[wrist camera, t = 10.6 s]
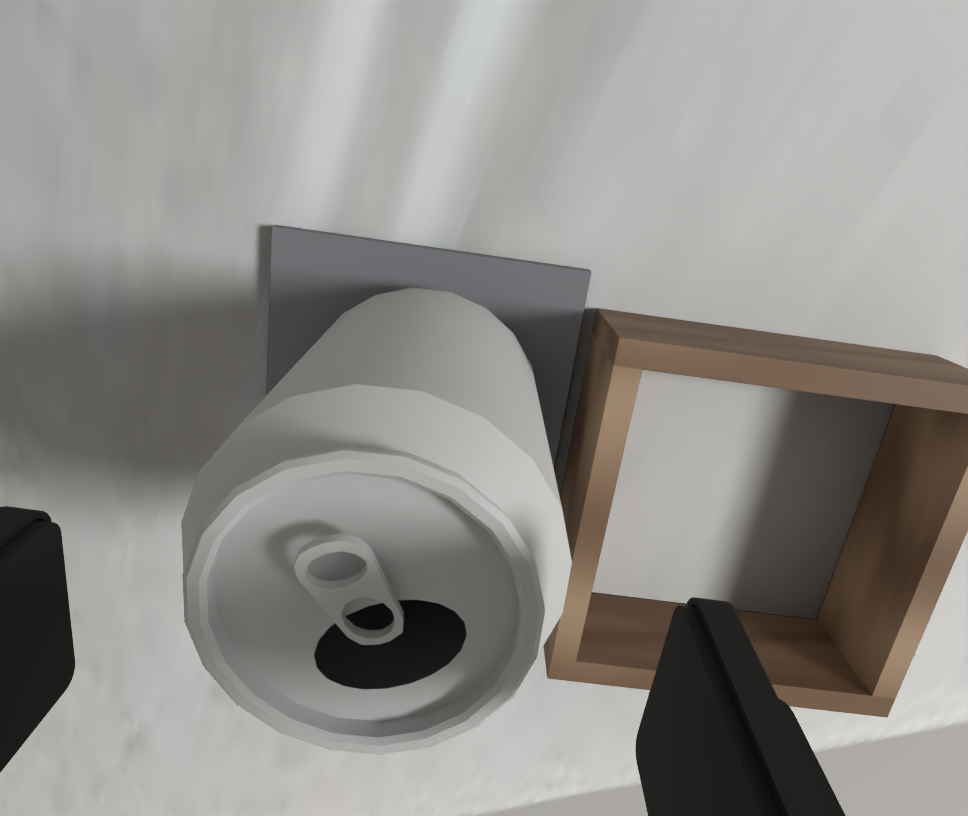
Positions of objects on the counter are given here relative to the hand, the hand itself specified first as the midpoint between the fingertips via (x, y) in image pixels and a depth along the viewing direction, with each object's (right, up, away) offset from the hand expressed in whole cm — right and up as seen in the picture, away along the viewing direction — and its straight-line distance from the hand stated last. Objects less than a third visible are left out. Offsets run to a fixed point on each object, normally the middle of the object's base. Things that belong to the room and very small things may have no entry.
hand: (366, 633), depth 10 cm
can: (0, +4, +13) cm, 13 cm away
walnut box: (+10, 0, +14) cm, 18 cm away
